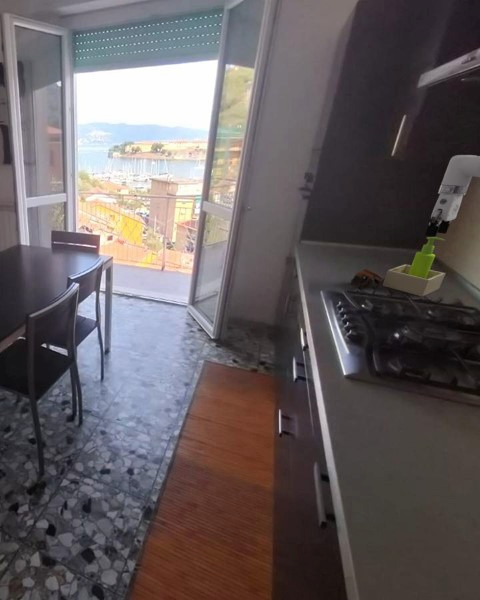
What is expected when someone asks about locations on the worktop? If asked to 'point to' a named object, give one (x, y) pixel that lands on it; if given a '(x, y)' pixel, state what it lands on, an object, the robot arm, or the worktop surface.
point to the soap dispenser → (424, 259)
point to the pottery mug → (365, 279)
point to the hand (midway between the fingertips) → (435, 234)
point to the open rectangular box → (413, 281)
